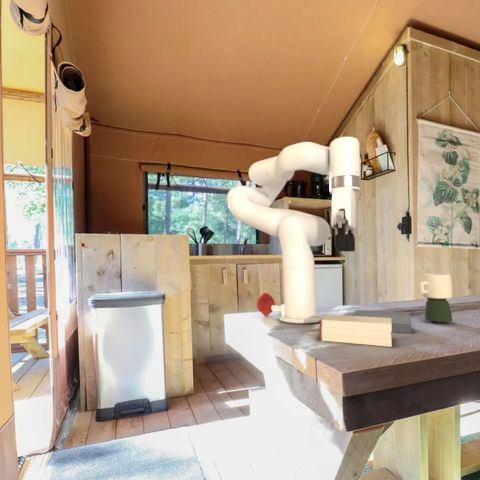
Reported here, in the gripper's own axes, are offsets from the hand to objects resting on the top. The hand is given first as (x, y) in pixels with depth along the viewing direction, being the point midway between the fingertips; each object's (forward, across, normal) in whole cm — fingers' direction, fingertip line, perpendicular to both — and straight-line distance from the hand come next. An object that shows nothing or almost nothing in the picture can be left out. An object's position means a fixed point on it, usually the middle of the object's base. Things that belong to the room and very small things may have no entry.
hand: (345, 251), depth 79 cm
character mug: (+20, -16, +21) cm, 33 cm away
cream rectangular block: (+20, +11, +4) cm, 23 cm away
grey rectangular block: (+20, -3, +8) cm, 21 cm away
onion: (+21, -9, -26) cm, 35 cm away
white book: (+16, +11, +4) cm, 20 cm away
